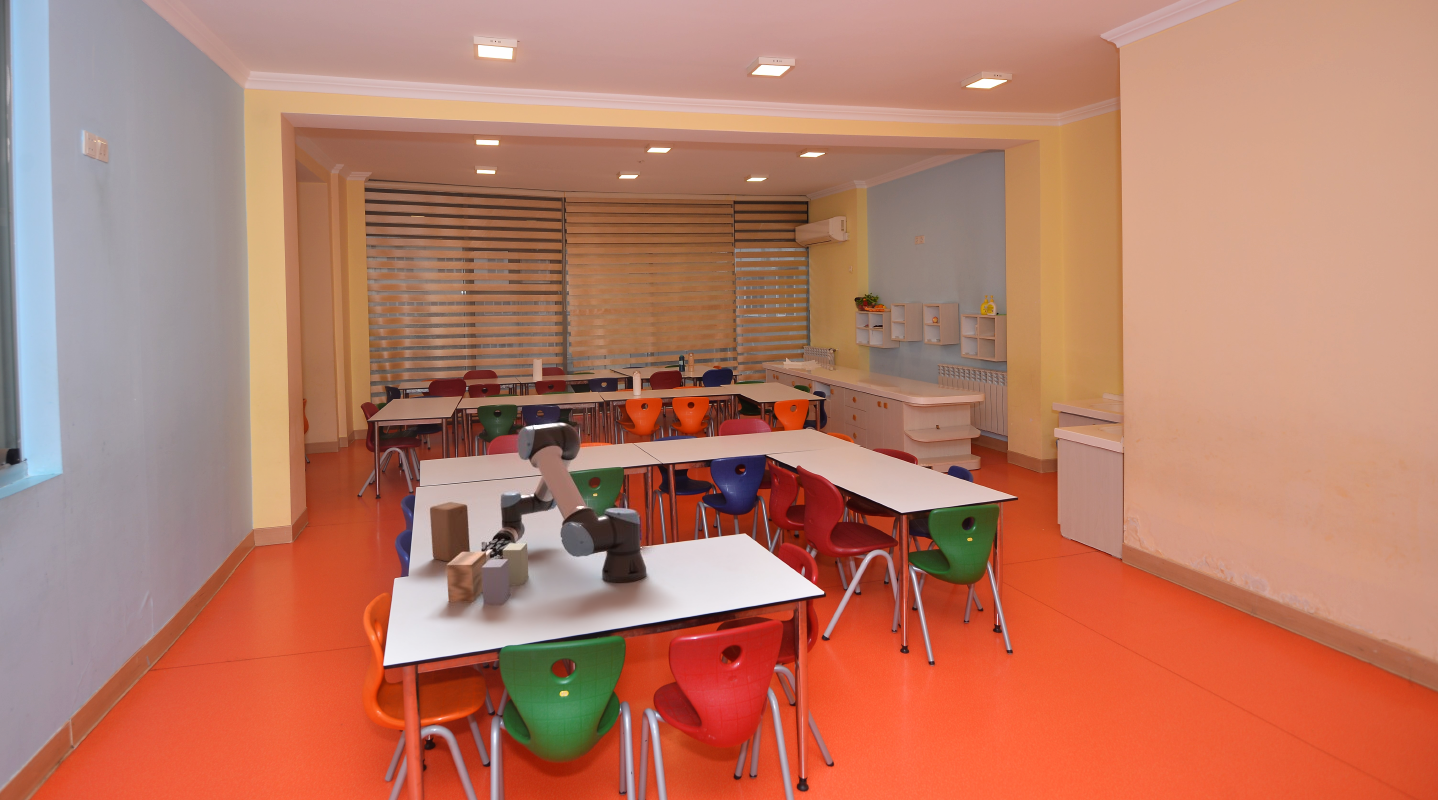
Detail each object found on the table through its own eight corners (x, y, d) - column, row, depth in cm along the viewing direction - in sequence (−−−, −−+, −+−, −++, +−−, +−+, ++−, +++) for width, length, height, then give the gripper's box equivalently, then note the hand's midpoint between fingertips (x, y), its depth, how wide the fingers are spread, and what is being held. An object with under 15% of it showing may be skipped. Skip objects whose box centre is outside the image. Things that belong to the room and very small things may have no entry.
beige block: (528, 577, 270) (526, 543, 268) (522, 584, 262) (520, 549, 261) (511, 577, 270) (509, 543, 269) (504, 585, 262) (502, 550, 261)
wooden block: (471, 555, 296) (468, 504, 294) (449, 563, 288) (446, 509, 286) (453, 552, 301) (450, 501, 299) (431, 559, 293) (428, 506, 291)
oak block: (487, 586, 261) (485, 551, 260) (473, 601, 247) (471, 564, 246) (464, 586, 261) (462, 551, 260) (448, 602, 247) (446, 565, 246)
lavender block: (510, 595, 252) (508, 559, 251) (502, 604, 244) (500, 567, 243) (491, 595, 252) (489, 559, 251) (483, 604, 244) (481, 567, 243)
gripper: (522, 549, 294) (503, 569, 271) (488, 549, 295) (466, 569, 271) (521, 529, 294) (502, 548, 270) (487, 530, 294) (465, 548, 271)
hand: (484, 558), depth 271 cm, fingers closed
